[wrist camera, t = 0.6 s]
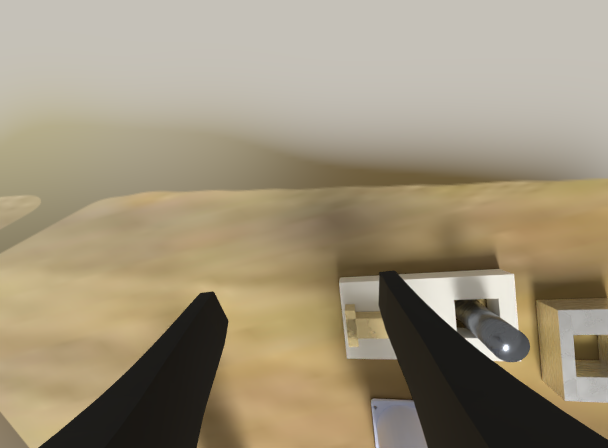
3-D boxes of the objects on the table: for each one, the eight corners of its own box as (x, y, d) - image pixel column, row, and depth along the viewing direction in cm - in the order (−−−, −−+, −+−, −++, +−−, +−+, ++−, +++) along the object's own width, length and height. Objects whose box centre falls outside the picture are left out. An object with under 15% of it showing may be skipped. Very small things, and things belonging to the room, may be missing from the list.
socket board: (506, 348, 29) (521, 361, 26) (347, 347, 32) (346, 358, 30) (499, 268, 28) (513, 274, 26) (339, 277, 32) (339, 282, 30)
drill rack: (613, 383, 27) (646, 404, 24) (542, 381, 28) (564, 400, 25) (607, 297, 26) (640, 308, 23) (535, 299, 28) (557, 310, 25)
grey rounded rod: (482, 321, 29) (531, 362, 21) (454, 322, 30) (491, 361, 22) (479, 296, 29) (528, 328, 21) (451, 297, 30) (488, 328, 22)
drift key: (397, 337, 29) (401, 347, 27) (348, 337, 30) (348, 346, 28) (394, 302, 28) (397, 309, 26) (345, 304, 30) (344, 310, 28)
